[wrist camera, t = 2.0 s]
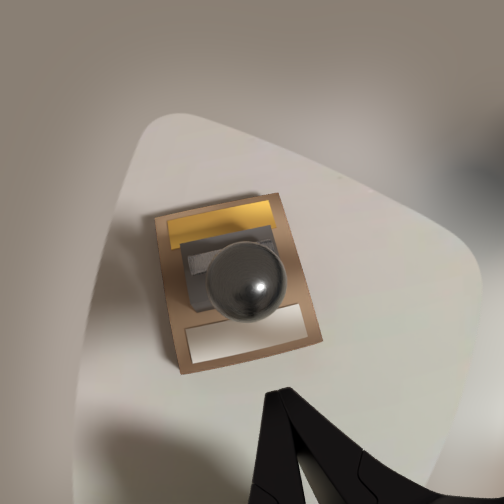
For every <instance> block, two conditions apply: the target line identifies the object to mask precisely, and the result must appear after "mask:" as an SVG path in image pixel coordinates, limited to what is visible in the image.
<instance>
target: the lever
mask: <svg viewBox="0 0 504 504" xmlns="http://www.w3.org/2000/svg"><path fill="white" fill-rule="evenodd" d="M188 263H189V268H190V272H191V275H192V276H195V275H200V274H205V273H206V278H205V286H206V292H207V295H208V298H209V300H210V302H211V304H212V305H213V307H214V308H215V309H216V310H217V311H218V312H219V313H220V314H221V315H223V316H224V317H226V318H228V319H230V320H232V321H235V322H240V323H252V322H257V321H260V320H263V319H265V318H267V317H268V316H270V315H271V314H272V313H274V312H275V311H276V310H277V309H278V307H279V306H280V304H281V303H282V301H283V299H284V297H285V294H286V290H287V275H286V271H285V268H284V265H283V263H282V261H281V260H280V258H279V257H278V256H277V255H276V254H275V250H274V246H273V242H272V240H271V239H267V240H262V241H257V242H250V241H242V242H236V243H233V244H230V245H228V246H226V247H225V248H223V249H219V250H215V251H210V252H205V253H200V254H196V255H191V256H188Z"/></svg>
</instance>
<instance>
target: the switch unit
mask: <svg viewBox="0 0 504 504" xmlns="http://www.w3.org/2000/svg"><path fill="white" fill-rule="evenodd" d="M155 226H156V234H157V242H158V249H159V257H160V264H161V271H162V277H163V284H164V290H165V296H166V302H167V308H168V313H169V319H170V324H171V330H172V335H173V340H174V345H175V350H176V355H177V359H178V364H179V369H180V373H181V375H182V374H190V373H195V372H200V371H205V370H210V369H215V368H220V367H225V366H230V365H234V364H239V363H243V362H248V361H252V360H256V359H260V358H264V357H269V356H273V355H276V354H280V353H284V352H288V351H292V350H296V349H299V348H303V347H306V346H310V345H313V344H317V343H320V342H322V341H323V339H322V335H321V332H320V328H319V324H318V321H317V317H316V314H315V310H314V307H313V303H312V300H311V296H310V293H309V290H308V286H307V283H306V279H305V276H304V273H303V269H302V266H301V263H300V260H299V256H298V253H297V250H296V247H295V243H294V240H293V237H292V234H291V230H290V227H289V224H288V221H287V218H286V215H285V212H284V209H283V205H282V202H281V199H280V196H279V193H273V194H268V195H262V196H257V197H252V198H246V199H241V200H236V201H231V202H226V203H221V204H216V205H211V206H206V207H202V208H197V209H192V210H188V211H183V212H178V213H174V214H169V215H165V216H161V217H156V218H155ZM267 239H271V240H272V242H273V246H274V250H275V254H276V255H277V256H278V257H279V258H280V260H281V261H282V263H283V265H284V268H285V271H286V275H287V290H286V294H285V297H284V299H283V301H282V303H281V304H280V306H279V307H278V309H277V310H276V311H275V312H274V313H272V314H271V315H270V316H268V317H267V318H265V319H263V320H260V321H257V322H252V323H240V322H235V321H232V320H230V319H228V318H226V317H224V316H223V315H221V314H220V313H219V312H218V311H217V310H216V309H215V308H214V307H213V305H212V304H211V302H210V300H209V298H208V295H207V292H206V286H205V278H206V273H205V274H200V275H195V276H192V275H191V272H190V268H189V263H188V256H191V255H196V254H200V253H205V252H210V251H215V250H219V249H223V248H225V247H226V246H228V245H230V244H233V243H236V242H242V241H250V242H257V241H262V240H267Z"/></svg>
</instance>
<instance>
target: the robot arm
mask: <svg viewBox="0 0 504 504" xmlns="http://www.w3.org/2000/svg"><path fill="white" fill-rule="evenodd" d="M298 462H299V464H300V466H301V468H302V470H303V472H304V474H305V477H306V479H307V481H308V483H309V485H310V487H311V489H312V491H313V493H314V495H315V497H316V499H317V501H318V503H319V504H504V497H501V498H473V497H460V496H450V495H444V494H439V493H436V492H433V491H431V490H429V489H427V488H425V487H423V486H421V485H419V484H417V483H415V482H413V481H411V480H409V479H408V478H406V477H404V476H402V475H400V474H398V473H397V472H395V471H393V470H392V469H390V468H388V467H387V466H385V465H384V464H382V463H381V462H380V461H378V460H377V459H375V458H374V457H373V456H371V455H370V454H369V453H368V452H366V451H365V450H363V448H361V447H360V446H359V445H358V444H356V443H355V442H354V441H353V440H351V439H350V438H349V437H348V436H347V435H345V434H344V433H343V432H342V431H341V430H339V429H338V428H337V427H336V426H335V425H333V424H332V423H331V422H330V421H329V420H328V419H326V418H325V417H324V416H323V415H322V414H321V413H319V412H318V411H317V410H316V409H315V408H314V407H313V406H311V405H310V404H309V403H308V402H307V401H306V400H305V399H304V398H302V397H301V396H300V395H299V394H298V393H297V392H296V391H295V390H293V389H292V388H291V387H286V388H282V389H279V390H274V391H271V392H267V393H266V394H265V398H264V406H263V413H262V420H261V427H260V434H259V440H258V447H257V454H256V460H255V467H254V473H253V479H252V483H253V484H252V485H251V491H250V496H249V501H248V504H306V502H305V496H304V491H303V485H302V480H301V475H300V469H299V464H298Z"/></svg>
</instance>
